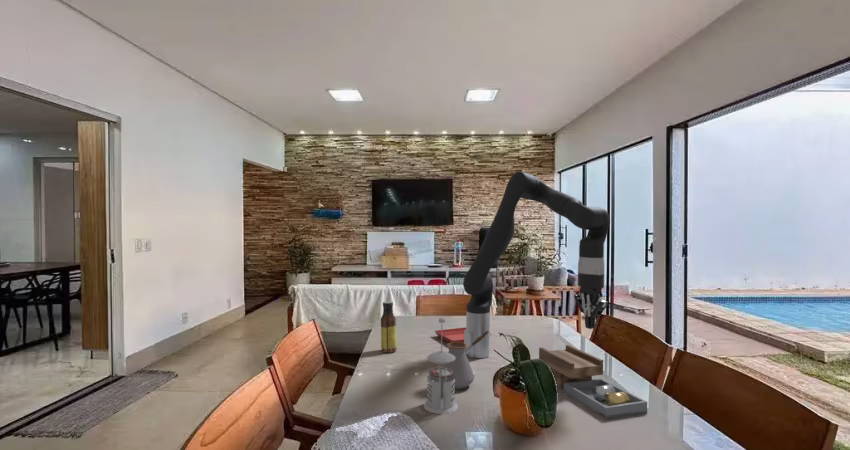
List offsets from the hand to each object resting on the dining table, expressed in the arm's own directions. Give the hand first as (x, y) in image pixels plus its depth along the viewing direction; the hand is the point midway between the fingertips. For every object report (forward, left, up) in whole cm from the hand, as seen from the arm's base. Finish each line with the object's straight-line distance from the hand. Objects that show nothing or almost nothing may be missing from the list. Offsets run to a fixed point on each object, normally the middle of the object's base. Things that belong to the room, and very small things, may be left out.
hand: (589, 328), depth 125 cm
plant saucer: (-15, +66, -21) cm, 71 cm away
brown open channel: (0, +10, -20) cm, 22 cm away
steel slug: (0, -7, -16) cm, 18 cm away
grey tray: (0, -6, -20) cm, 21 cm away
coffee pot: (-32, +20, -21) cm, 43 cm away
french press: (-47, +4, -21) cm, 51 cm away
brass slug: (0, -13, -16) cm, 21 cm away
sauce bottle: (-50, +58, -21) cm, 79 cm away
